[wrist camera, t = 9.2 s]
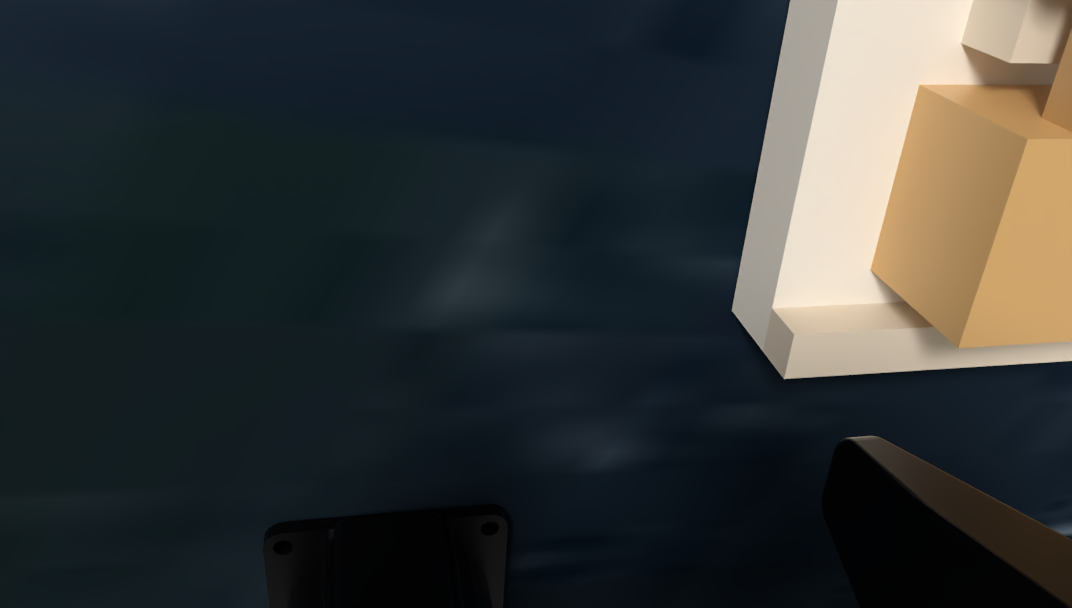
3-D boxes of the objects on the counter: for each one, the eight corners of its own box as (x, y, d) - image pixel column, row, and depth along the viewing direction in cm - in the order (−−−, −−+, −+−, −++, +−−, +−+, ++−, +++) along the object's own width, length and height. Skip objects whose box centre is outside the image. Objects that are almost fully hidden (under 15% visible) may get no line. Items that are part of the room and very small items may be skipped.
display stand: (1301, -427, 17) (1508, -473, 14) (1032, 296, 25) (1129, 366, 22) (882, -486, 16) (1015, -552, 13) (731, 310, 23) (791, 388, 20)
